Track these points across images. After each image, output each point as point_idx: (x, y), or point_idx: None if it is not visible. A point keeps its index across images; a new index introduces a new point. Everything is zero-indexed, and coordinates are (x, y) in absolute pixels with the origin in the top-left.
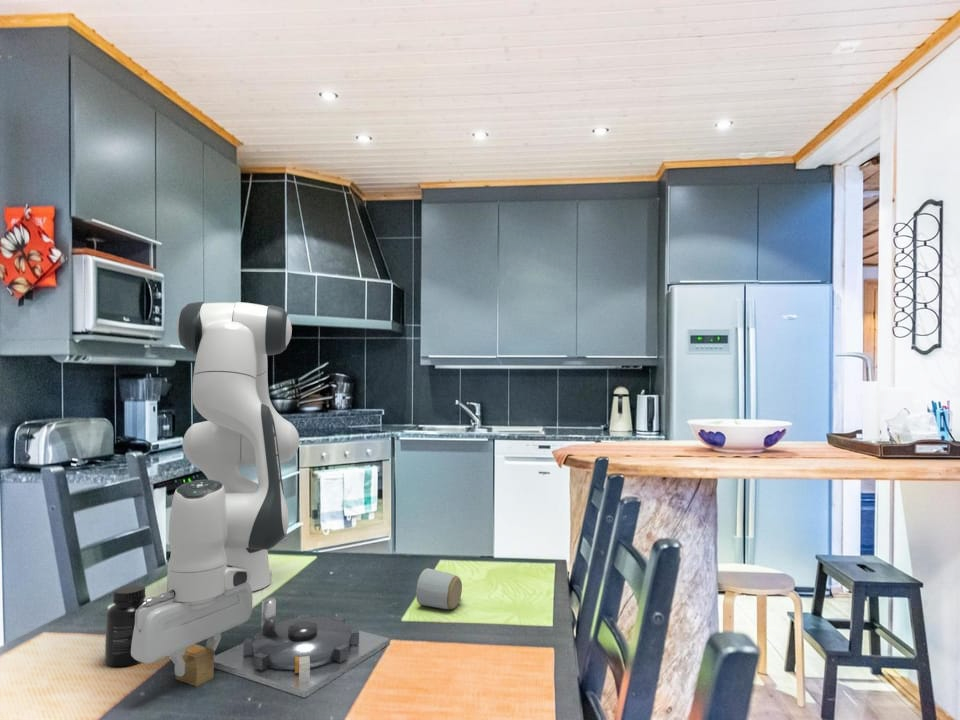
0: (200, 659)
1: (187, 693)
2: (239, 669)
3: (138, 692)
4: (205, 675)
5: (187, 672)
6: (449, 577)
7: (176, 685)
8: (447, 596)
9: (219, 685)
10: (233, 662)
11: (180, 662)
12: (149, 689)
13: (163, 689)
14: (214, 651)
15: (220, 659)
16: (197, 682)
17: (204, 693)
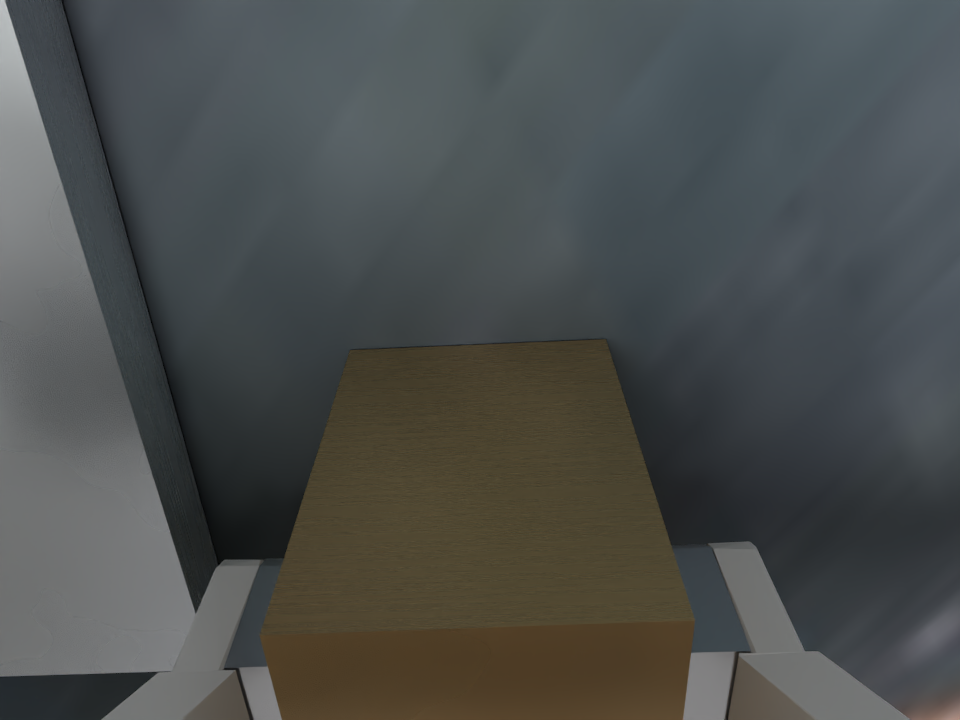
0: (596, 572)
1: (780, 284)
2: (30, 119)
3: (934, 666)
4: (472, 387)
5: None
6: None
7: (687, 524)
8: None
9: (427, 107)
10: (3, 389)
11: (883, 706)
12: (854, 642)
13: (806, 554)
14: (177, 664)
15: (100, 571)
16: (594, 362)
17: (691, 90)
